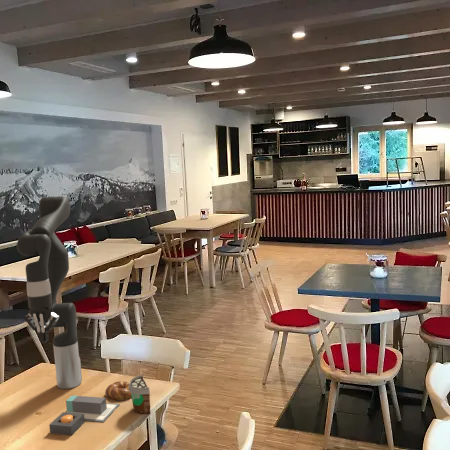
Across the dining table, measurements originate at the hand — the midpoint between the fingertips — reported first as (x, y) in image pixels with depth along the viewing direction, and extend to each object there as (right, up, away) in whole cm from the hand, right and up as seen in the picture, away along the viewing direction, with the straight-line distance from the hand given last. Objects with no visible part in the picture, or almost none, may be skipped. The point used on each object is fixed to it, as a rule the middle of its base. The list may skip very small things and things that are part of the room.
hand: (44, 341), depth 167 cm
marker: (+13, -25, +5) cm, 29 cm away
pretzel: (+23, -24, +18) cm, 38 cm away
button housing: (+10, -27, -5) cm, 29 cm away
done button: (+10, -26, -5) cm, 28 cm away
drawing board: (+14, -26, +5) cm, 30 cm away
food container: (+32, -25, +5) cm, 41 cm away
